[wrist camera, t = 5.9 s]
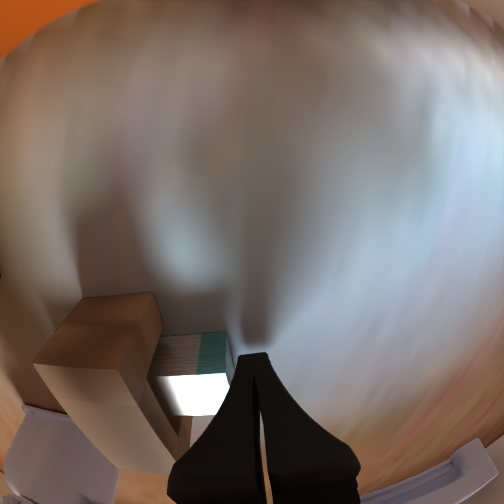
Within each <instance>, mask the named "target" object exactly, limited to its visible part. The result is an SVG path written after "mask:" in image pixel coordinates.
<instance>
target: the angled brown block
mask: <svg viewBox="0 0 504 504" xmlns="http://www.w3.org/2000/svg"><path fill="white" fill-rule="evenodd" d="M162 328H163V321H162V318H161V315H160V312H159V309H158V306H157V302H156V299H155V296H154V292H149V293H138V294H127V295H116V296H105V297H92V298H82V299H81V300H80V301H79V303H78V304H77V305H76V306H75V308H74V309H73V310H72V311H71V312H70V314H69V315H68V316H67V317H66V319H65V320H64V321H63V322H62V324H61V325H60V326H59V328H58V329H57V330H56V331H55V333H54V334H53V335H52V337H51V338H50V339H49V341H48V342H47V343H46V345H45V346H44V348H43V349H42V350H41V352H40V353H39V354H38V356H37V357H36V359H35V360H34V361H33V363H32V364H33V365H34V367H35V368H36V370H37V372H38V373H39V375H40V376H41V378H42V379H43V381H44V382H45V384H46V385H47V387H48V388H49V390H50V391H51V393H52V394H53V395H54V397H55V398H56V399H57V401H58V402H59V404H60V405H61V406H62V408H63V409H64V410H65V411H66V413H67V414H68V415H69V417H70V418H71V419H72V420H73V421H74V423H75V424H76V425H77V426H78V427H79V429H80V430H81V431H82V432H83V433H84V434H85V436H86V437H87V438H88V439H89V440H90V441H91V442H92V443H93V444H94V445H95V447H96V448H97V449H98V450H99V451H100V452H101V453H102V454H103V455H104V456H105V457H106V458H107V459H108V460H109V461H110V462H111V463H112V464H113V465H114V466H115V467H116V468H119V469H125V470H131V471H139V472H147V473H156V474H168V475H170V472H171V469H172V466H173V464H174V463H175V462H176V461H177V460H178V459H179V458H180V457H181V456H183V455H184V454H185V453H186V452H187V451H188V450H189V447H190V436H191V426H192V417H193V415H165V414H164V412H163V410H162V408H161V406H160V405H159V403H158V401H157V399H156V397H155V395H154V393H153V391H152V389H151V387H150V385H149V383H148V381H147V379H146V378H147V374H148V371H149V368H150V365H151V362H152V358H153V355H154V352H155V349H156V346H157V343H158V340H159V337H160V334H161V331H162Z"/></svg>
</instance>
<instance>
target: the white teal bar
mask: <svg viewBox="0 0 504 504" xmlns="http://www.w3.org/2000/svg"><path fill="white" fill-rule="evenodd" d="M234 372H235V369H234V365H233V360H232V355H231V351H230V346H229V341H228V336H227V331H225V332H215V333H205V334H193V335H179V336H164V337H159V340H158V343H157V346H156V349H155V352H154V355H153V358H152V362H151V365H150V368H149V371H148V374H147V378H146V379H147V381H148V383H149V385H150V387H151V389H152V391H153V393H154V395H155V397H156V399H157V401H158V403H159V405H160V406H161V408H162V410H163V412H164V414H165V415H214V414H216V413H217V411H218V409H219V408H220V406H221V404H222V402H223V400H224V398H225V396H226V393H227V391H228V389H229V386H230V384H231V381H232V378H233V376H234Z"/></svg>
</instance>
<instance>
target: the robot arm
mask: <svg viewBox="0 0 504 504" xmlns="http://www.w3.org/2000/svg"><path fill="white" fill-rule="evenodd" d="M22 409H23V411H24V412H25V413H26V416H25V418H24V420H23V422H22V424H21V426H20V428H19V429H18V431H17V433H16V435H15V438H14V440H13V442H12V444H11V446H10V448H9V450H8V452H7V454H6V457H5V461H4V474H5V478H6V481H7V483H8V485H9V486H10V488H11V489H12V491H13V492H14V493H15V494H16V495H15V496H12V495H10V494H8V495H4V496H1V497H0V504H114V501H115V496H116V491H117V487H118V482H119V478H120V473H121V469H119V468H116V467H115V466H114V465H113V464H112V463H111V462H110V461H109V460H108V459H107V458H106V457H105V456H104V455H103V454H102V453H101V452H100V451H99V450H98V449H97V448H96V447H95V445H94V444H93V443H92V442H91V441H90V440H89V439H88V438H87V437H86V436H85V434H84V433H83V432H82V431H81V430H80V429H79V427H78V426H77V425H76V424H75V423H74V421H73V420H72V419H71V418H70V417H69V415H66V414H61V413H56V412H52V411H48V410H43V409H39V408H35V407H32V406H28V405H23V406H22ZM260 411H261V416H262V420H263V426H264V437H265V447H266V458H267V469H268V475H269V480H270V485H271V489H272V497H273V504H459V503H460V502H462V501H464V500H465V499H467V498H468V497H470V496H471V495H473V494H474V493H475V492H477V491H478V490H479V489H481V488H482V487H483V486H485V485H486V484H487V483H488V482H489V481H491V480H492V479H493V478H494V477H495V476H497V475H498V471H497V469H496V467H495V465H494V464H493V462H492V460H491V458H490V457H489V455H488V453H487V452H486V450H485V448H484V446H483V445H482V443H481V442H480V440H479V438H476V439H475V440H473V441H471V442H470V443H468V444H467V445H465V446H463V447H462V448H460V449H459V450H457V451H456V452H455V453H454V454H453V455H452V456H451V458H450V459H448V460H447V461H445V462H443V463H441V464H439V465H437V466H435V467H433V468H431V469H429V470H427V471H425V472H423V473H421V474H418V475H416V476H414V477H412V478H409V479H407V480H405V481H402V482H400V483H397V484H395V485H392V486H390V487H387V488H384V489H381V490H378V491H376V492H373V493H370V494H366V495H363V496H360V497H359V494H358V490H357V487H358V484H357V481H356V477H357V475H358V473H359V471H360V469H361V466H360V463H359V461H358V459H357V457H356V455H355V454H354V452H353V451H352V449H351V448H350V447H349V446H348V445H347V444H345V443H344V442H342V441H340V440H339V439H337V438H336V437H334V436H333V435H332V434H330V433H329V432H328V431H326V430H325V429H324V428H322V427H321V426H320V425H319V424H318V423H317V422H315V421H314V420H313V419H312V418H311V417H310V416H309V415H308V414H307V413H306V412H305V411H304V410H303V409H302V408H301V407H300V406H299V405H298V404H297V402H296V401H295V400H294V399H293V398H292V396H291V395H290V394H289V392H288V391H287V390H286V388H285V387H284V385H283V384H282V382H281V381H280V379H279V378H278V376H277V374H276V372H275V371H274V369H273V367H272V365H271V362H270V360H269V357H268V354H267V353H266V352H261V353H253V354H245V355H240V356H239V357H238V361H237V365H236V369H235V372H234V376H233V378H232V381H231V384H230V386H229V389H228V391H227V393H226V396H225V398H224V400H223V402H222V404H221V406H220V408H219V409H218V411H217V413H216V415H215V416H214V418H213V419H212V421H211V422H210V424H209V425H208V427H207V428H206V430H205V431H204V432H203V434H202V435H201V436H200V437H199V438H198V440H197V441H196V442H195V443H194V444H193V445H192V447H191V448H190V449H189V450H188V451H187V452H186V453H185V454H184V455H183V456H181V457H180V458H179V459H178V460H177V461H176V462H175V463H174V464H173V466H172V469H171V472H170V475H169V479H168V487H167V495H168V496H169V497H170V498H171V499H172V500H173V501H174V502H176V503H177V504H267V499H266V491H265V483H264V474H263V466H262V457H261V448H260Z"/></svg>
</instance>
